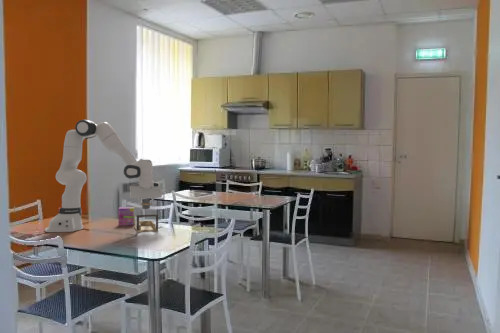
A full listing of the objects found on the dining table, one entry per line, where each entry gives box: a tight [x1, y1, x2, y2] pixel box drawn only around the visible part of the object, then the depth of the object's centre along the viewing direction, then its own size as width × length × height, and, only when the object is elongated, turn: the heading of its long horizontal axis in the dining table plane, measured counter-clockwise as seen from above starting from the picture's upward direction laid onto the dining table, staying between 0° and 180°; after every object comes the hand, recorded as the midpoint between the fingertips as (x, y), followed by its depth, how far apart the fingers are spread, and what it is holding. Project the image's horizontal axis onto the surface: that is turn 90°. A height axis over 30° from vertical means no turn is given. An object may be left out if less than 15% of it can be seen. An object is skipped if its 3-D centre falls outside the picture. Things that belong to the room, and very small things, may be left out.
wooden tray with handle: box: [133, 213, 159, 233], centre depth 283 cm, size 13×16×11 cm
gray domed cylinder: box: [141, 198, 151, 210], centre depth 282 cm, size 5×5×6 cm
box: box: [117, 206, 136, 226], centre depth 298 cm, size 10×6×12 cm, turn 97°
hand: (146, 205), depth 282 cm, fingers closed on gray domed cylinder, 5 cm apart
